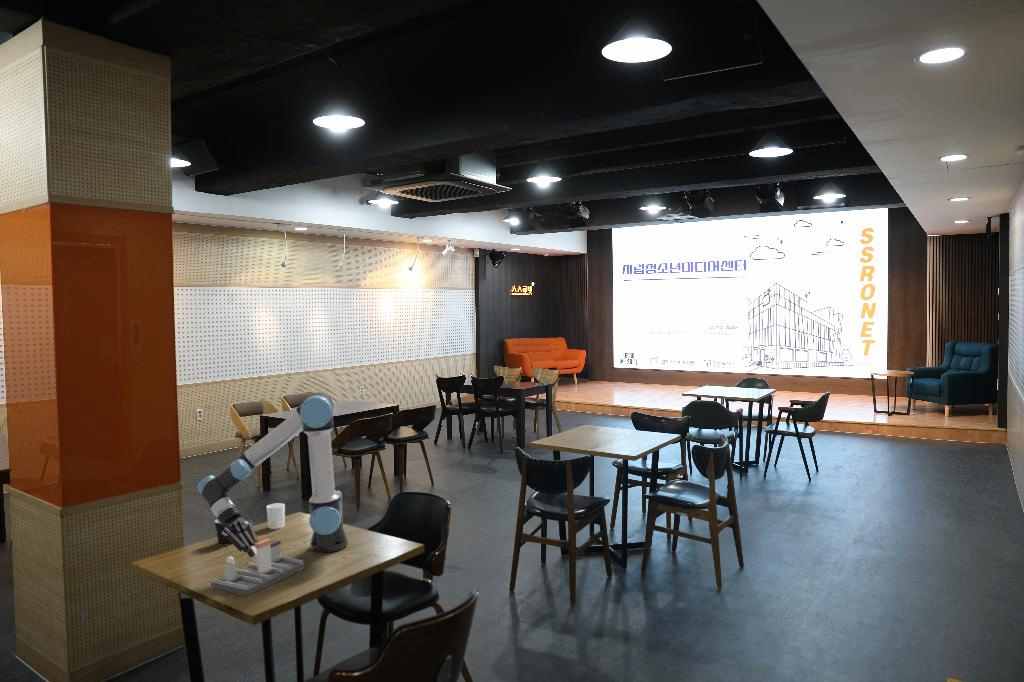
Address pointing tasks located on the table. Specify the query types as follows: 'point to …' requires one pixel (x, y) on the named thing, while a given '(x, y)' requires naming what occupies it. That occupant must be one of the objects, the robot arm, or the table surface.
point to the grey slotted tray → (259, 577)
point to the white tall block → (264, 557)
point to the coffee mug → (219, 530)
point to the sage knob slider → (230, 570)
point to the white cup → (276, 515)
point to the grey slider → (275, 551)
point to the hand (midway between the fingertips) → (260, 562)
